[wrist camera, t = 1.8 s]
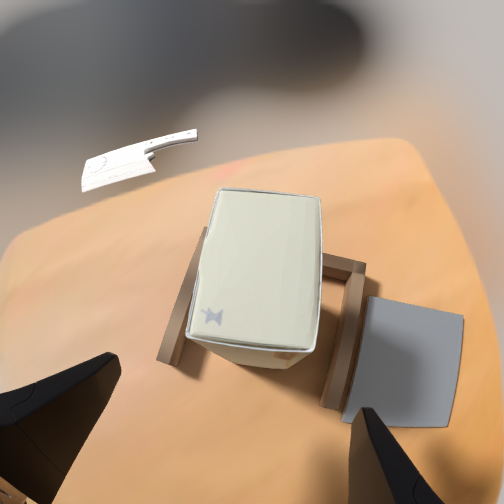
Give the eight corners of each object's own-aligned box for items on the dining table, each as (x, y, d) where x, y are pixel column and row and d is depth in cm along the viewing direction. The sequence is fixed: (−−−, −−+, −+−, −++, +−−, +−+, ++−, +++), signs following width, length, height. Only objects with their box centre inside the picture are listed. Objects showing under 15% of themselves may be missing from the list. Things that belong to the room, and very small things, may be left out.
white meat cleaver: (199, 162, 28) (197, 155, 27) (82, 193, 28) (78, 188, 27) (197, 133, 30) (195, 126, 29) (90, 163, 30) (86, 157, 29)
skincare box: (288, 370, 19) (317, 364, 8) (230, 363, 19) (179, 347, 8) (297, 288, 21) (324, 191, 10) (242, 282, 22) (215, 183, 11)
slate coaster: (443, 425, 15) (446, 426, 15) (340, 420, 17) (342, 421, 16) (459, 316, 19) (463, 315, 19) (366, 297, 21) (369, 295, 20)
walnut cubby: (331, 406, 17) (338, 409, 16) (165, 361, 19) (156, 359, 18) (358, 272, 22) (366, 263, 20) (209, 238, 24) (204, 226, 22)
